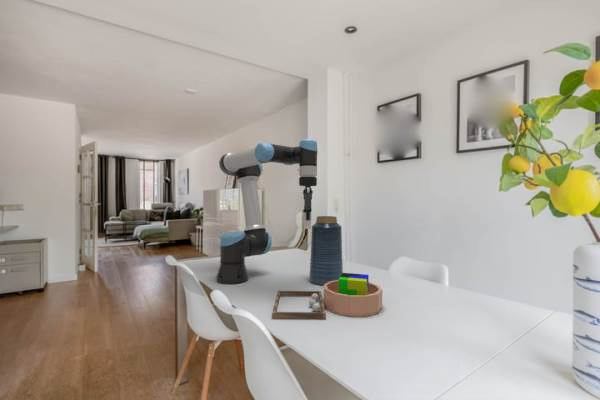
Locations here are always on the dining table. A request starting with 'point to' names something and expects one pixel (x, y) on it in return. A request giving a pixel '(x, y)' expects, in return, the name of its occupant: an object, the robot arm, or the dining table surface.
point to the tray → (298, 314)
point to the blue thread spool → (326, 250)
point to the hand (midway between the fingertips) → (307, 226)
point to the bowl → (352, 301)
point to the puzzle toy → (353, 284)
